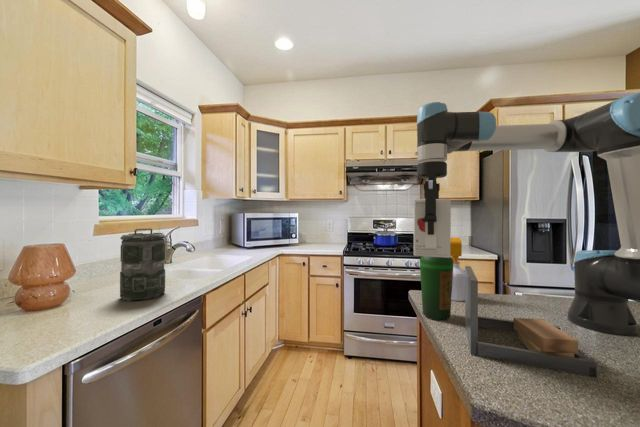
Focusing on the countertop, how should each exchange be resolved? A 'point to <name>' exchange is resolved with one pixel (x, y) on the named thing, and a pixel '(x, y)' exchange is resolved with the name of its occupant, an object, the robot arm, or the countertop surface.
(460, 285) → the soap bottle
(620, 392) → the countertop surface
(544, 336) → the offcut upper
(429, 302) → the bottle
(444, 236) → the supplement box
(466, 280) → the stand
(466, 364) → the countertop surface
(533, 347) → the offcut lower
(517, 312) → the countertop surface
